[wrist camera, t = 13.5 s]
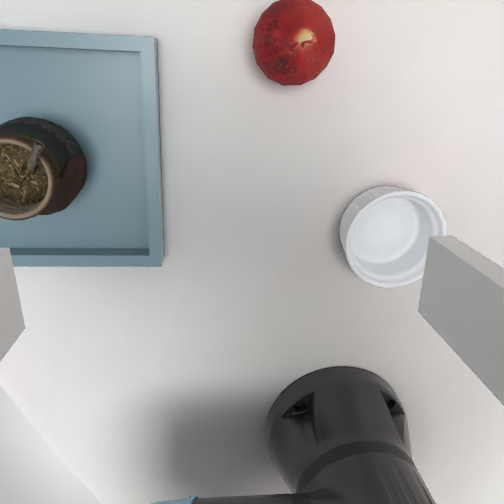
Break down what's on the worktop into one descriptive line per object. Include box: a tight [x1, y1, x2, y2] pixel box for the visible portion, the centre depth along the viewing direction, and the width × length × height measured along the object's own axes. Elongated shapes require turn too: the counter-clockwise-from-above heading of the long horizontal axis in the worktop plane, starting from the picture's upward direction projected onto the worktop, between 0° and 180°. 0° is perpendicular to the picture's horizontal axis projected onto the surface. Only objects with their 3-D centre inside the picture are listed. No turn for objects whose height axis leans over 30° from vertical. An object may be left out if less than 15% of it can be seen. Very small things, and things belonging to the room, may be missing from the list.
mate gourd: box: [0, 117, 87, 221], centre depth 32 cm, size 7×8×10 cm
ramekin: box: [340, 186, 447, 288], centre depth 41 cm, size 9×9×4 cm
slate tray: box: [0, 29, 164, 266], centre depth 36 cm, size 18×18×2 cm
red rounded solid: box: [253, 0, 335, 85], centre depth 32 cm, size 6×6×8 cm
